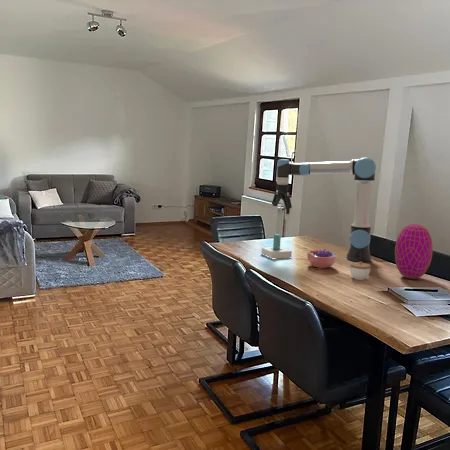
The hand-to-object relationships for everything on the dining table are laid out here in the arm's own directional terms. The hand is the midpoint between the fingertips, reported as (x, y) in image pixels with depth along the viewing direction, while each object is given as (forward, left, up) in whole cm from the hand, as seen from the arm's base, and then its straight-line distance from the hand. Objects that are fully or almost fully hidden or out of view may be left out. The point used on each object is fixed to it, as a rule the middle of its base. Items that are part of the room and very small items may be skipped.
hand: (280, 217), depth 299 cm
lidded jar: (-59, -16, -25) cm, 66 cm away
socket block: (0, +2, -25) cm, 25 cm away
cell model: (-32, -10, -25) cm, 42 cm away
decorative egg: (-67, -45, -25) cm, 85 cm away
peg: (0, +2, -25) cm, 25 cm away
